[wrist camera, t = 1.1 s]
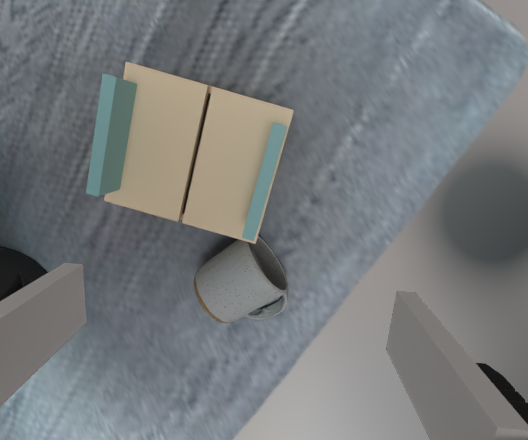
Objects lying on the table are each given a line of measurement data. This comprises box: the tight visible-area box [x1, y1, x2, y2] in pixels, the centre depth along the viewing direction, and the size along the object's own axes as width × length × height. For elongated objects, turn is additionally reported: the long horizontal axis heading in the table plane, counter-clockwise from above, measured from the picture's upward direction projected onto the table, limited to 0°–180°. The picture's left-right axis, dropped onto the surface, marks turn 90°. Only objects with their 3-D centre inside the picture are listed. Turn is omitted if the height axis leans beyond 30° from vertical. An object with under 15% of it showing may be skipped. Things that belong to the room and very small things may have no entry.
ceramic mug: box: [194, 236, 288, 323], centre depth 37 cm, size 11×8×8 cm
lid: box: [182, 87, 294, 244], centre depth 27 cm, size 7×12×4 cm, turn 165°
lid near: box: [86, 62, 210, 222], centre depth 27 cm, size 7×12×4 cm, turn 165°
